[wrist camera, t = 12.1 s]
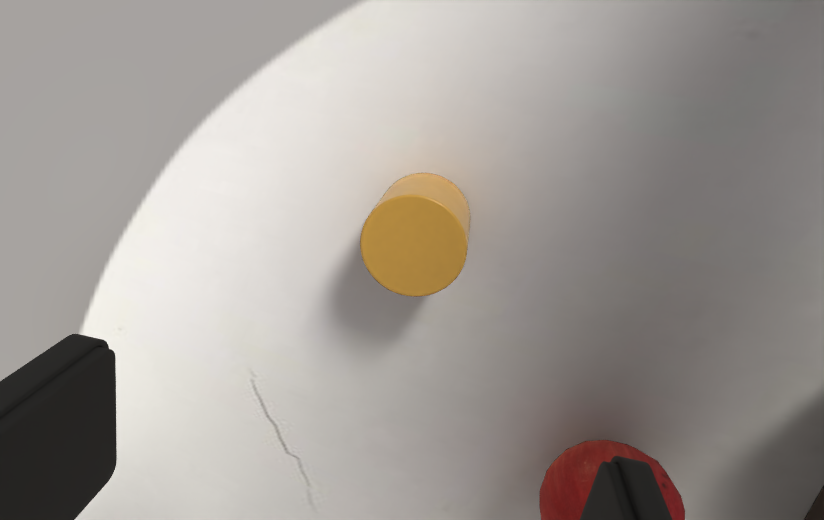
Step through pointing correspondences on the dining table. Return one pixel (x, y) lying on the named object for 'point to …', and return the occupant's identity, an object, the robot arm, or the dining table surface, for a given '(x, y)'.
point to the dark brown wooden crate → (817, 508)
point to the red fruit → (578, 471)
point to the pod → (417, 235)
